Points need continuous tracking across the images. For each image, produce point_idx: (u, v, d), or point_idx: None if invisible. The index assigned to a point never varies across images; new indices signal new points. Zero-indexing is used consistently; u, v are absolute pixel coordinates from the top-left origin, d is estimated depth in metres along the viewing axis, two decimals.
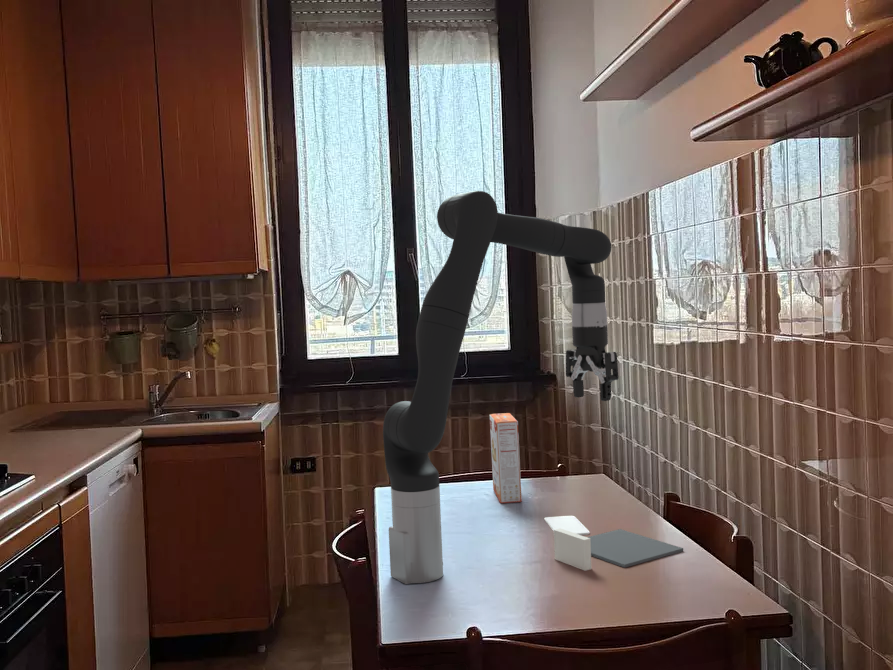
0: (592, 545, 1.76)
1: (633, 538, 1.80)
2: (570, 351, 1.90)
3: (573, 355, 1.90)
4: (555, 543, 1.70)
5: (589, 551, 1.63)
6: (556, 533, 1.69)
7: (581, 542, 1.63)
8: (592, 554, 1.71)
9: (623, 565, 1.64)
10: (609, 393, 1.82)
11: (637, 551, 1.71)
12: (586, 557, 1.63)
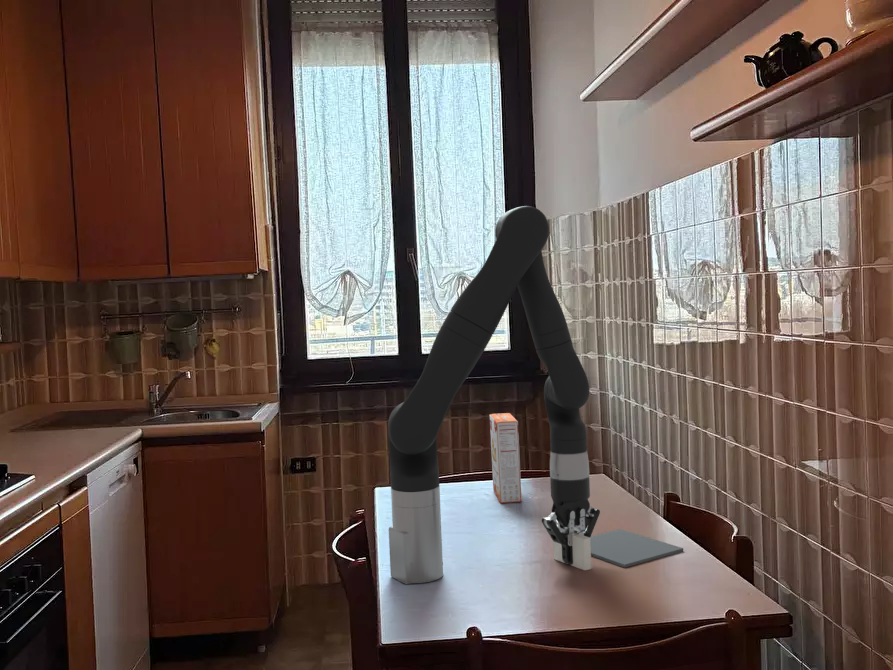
0: (592, 545, 1.76)
1: (633, 538, 1.80)
2: (551, 519, 1.63)
3: (554, 520, 1.64)
4: (555, 543, 1.70)
5: (589, 550, 1.63)
6: None
7: (581, 542, 1.63)
8: (592, 554, 1.71)
9: (623, 565, 1.64)
10: None
11: (637, 551, 1.71)
12: (586, 556, 1.63)
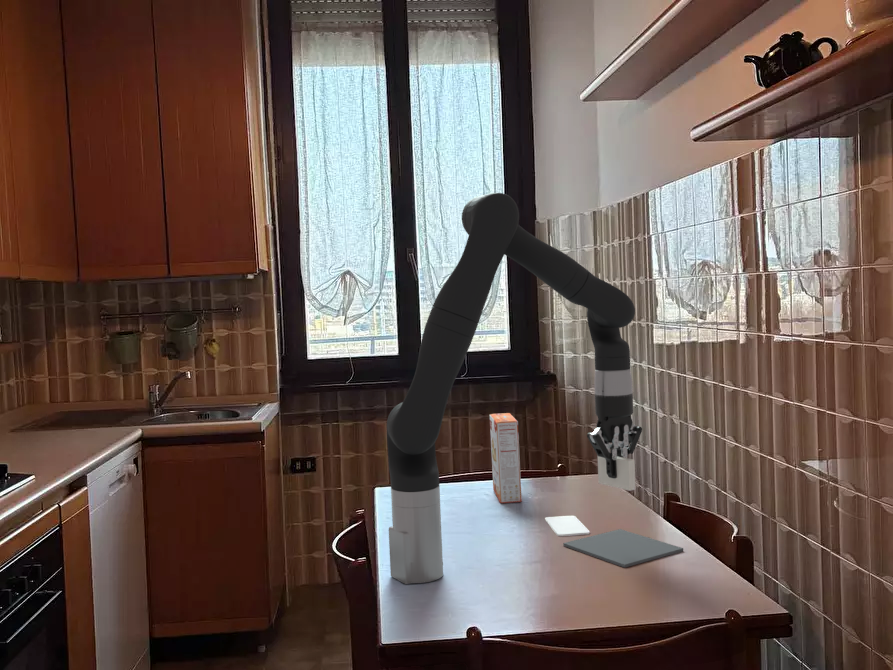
0: (592, 545, 1.76)
1: (633, 538, 1.80)
2: (596, 433, 1.70)
3: (599, 434, 1.71)
4: (599, 467, 1.77)
5: (633, 472, 1.70)
6: (600, 457, 1.76)
7: (626, 463, 1.70)
8: (592, 554, 1.71)
9: (623, 565, 1.64)
10: None
11: (637, 551, 1.71)
12: (630, 477, 1.70)
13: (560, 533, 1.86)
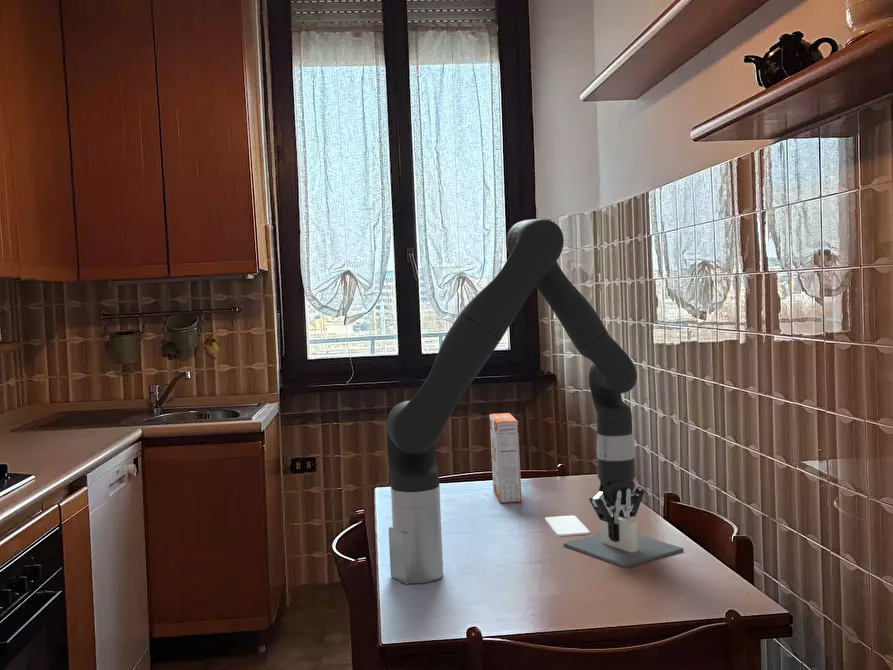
0: (592, 545, 1.76)
1: None
2: (598, 498, 1.70)
3: (601, 499, 1.71)
4: (601, 527, 1.77)
5: (635, 533, 1.71)
6: None
7: (628, 525, 1.71)
8: (592, 554, 1.71)
9: (623, 565, 1.64)
10: None
11: (637, 551, 1.71)
12: (633, 539, 1.70)
13: (560, 533, 1.86)
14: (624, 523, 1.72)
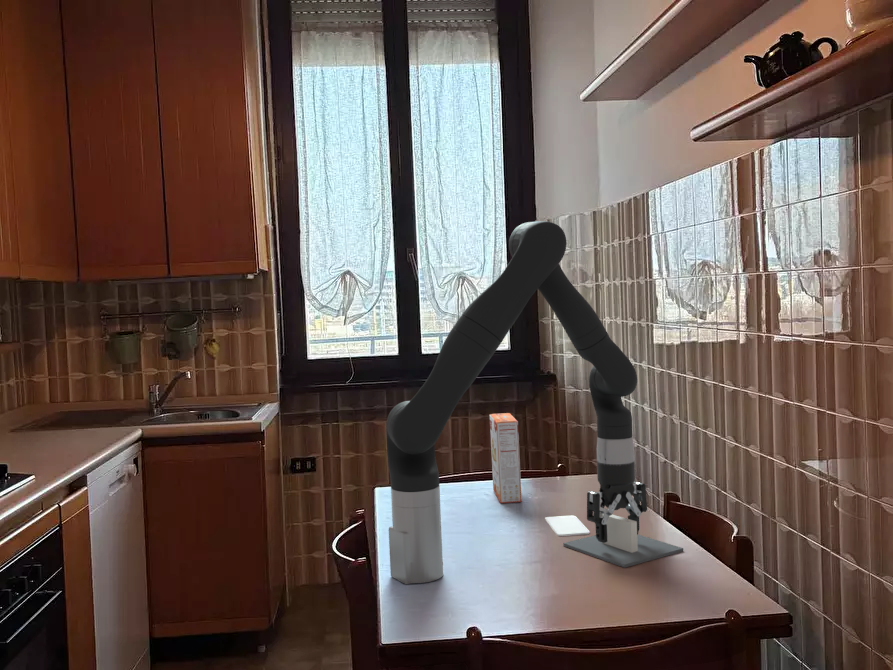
0: (592, 545, 1.76)
1: None
2: None
3: None
4: None
5: (635, 533, 1.71)
6: None
7: (628, 525, 1.71)
8: (592, 554, 1.71)
9: (623, 565, 1.64)
10: None
11: (637, 551, 1.71)
12: (633, 539, 1.70)
13: (560, 533, 1.86)
14: (624, 523, 1.72)
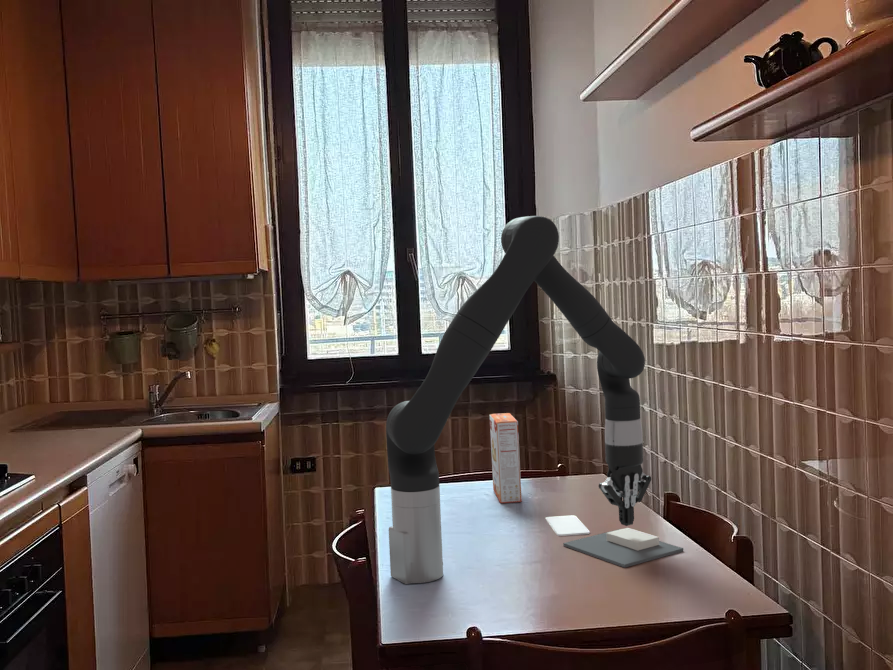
0: (592, 545, 1.76)
1: None
2: (607, 484, 1.72)
3: (610, 484, 1.72)
4: (619, 530, 1.80)
5: (650, 545, 1.73)
6: (628, 528, 1.81)
7: (654, 537, 1.74)
8: (592, 554, 1.71)
9: (623, 565, 1.64)
10: None
11: (637, 551, 1.71)
12: (646, 542, 1.73)
13: (560, 533, 1.87)
14: (650, 535, 1.76)
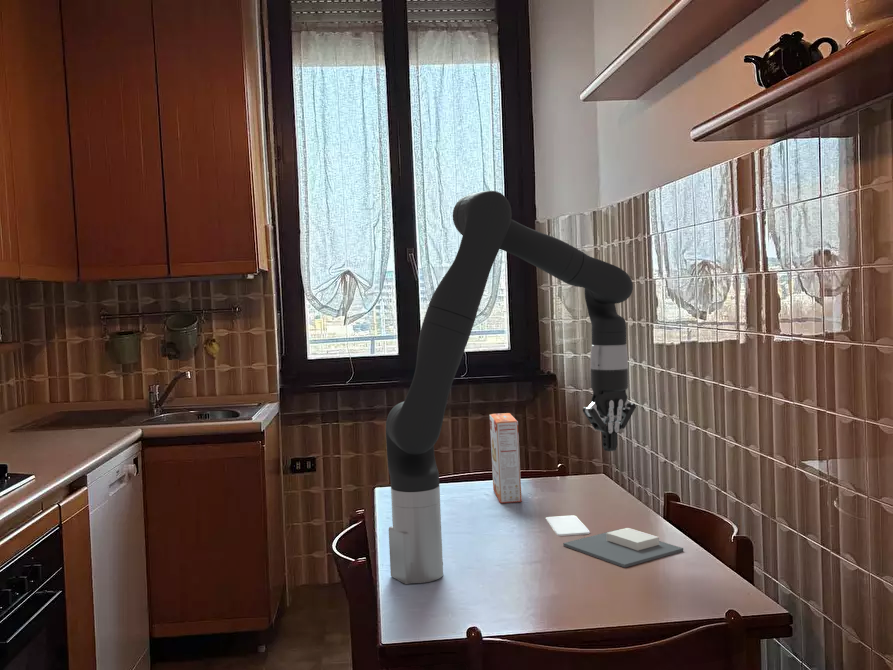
0: (592, 545, 1.76)
1: None
2: (591, 408, 1.73)
3: (594, 408, 1.74)
4: (619, 530, 1.80)
5: (650, 545, 1.73)
6: (628, 528, 1.81)
7: (654, 537, 1.74)
8: (592, 554, 1.71)
9: (623, 565, 1.64)
10: None
11: (637, 551, 1.71)
12: (646, 542, 1.73)
13: (560, 533, 1.87)
14: (650, 535, 1.76)
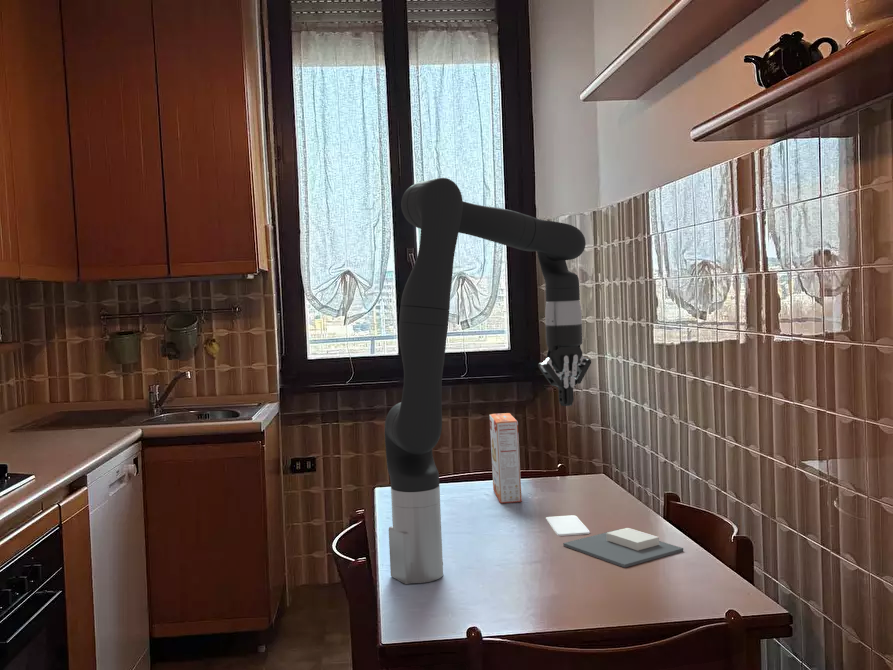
0: (592, 545, 1.76)
1: None
2: (546, 363, 1.76)
3: (549, 364, 1.76)
4: (619, 530, 1.80)
5: (650, 545, 1.73)
6: (628, 528, 1.81)
7: (654, 537, 1.74)
8: (592, 554, 1.71)
9: (623, 565, 1.64)
10: None
11: (637, 551, 1.71)
12: (646, 542, 1.73)
13: (560, 533, 1.87)
14: (650, 535, 1.76)
